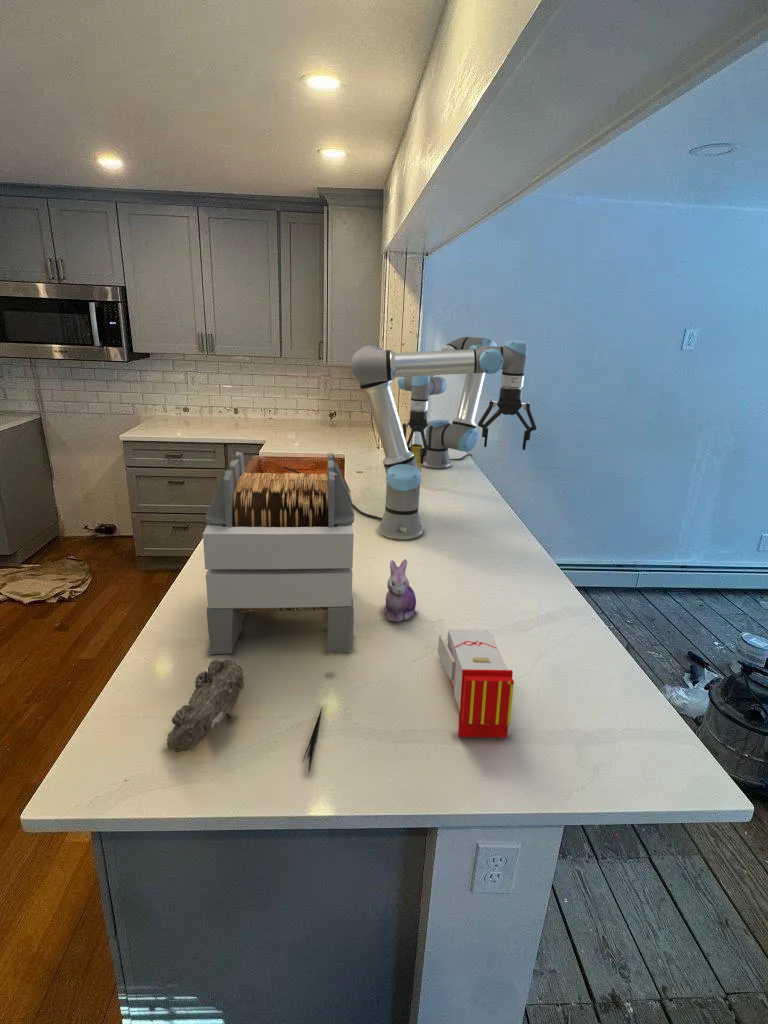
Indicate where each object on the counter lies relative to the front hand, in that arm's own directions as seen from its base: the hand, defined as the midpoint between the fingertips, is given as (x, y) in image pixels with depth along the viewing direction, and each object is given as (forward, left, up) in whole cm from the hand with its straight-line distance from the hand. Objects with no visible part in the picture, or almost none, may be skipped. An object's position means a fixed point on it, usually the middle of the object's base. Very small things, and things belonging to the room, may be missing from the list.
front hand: (504, 447), depth 203 cm
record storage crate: (+11, -98, -29) cm, 103 cm away
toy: (+60, -83, -29) cm, 107 cm away
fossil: (+35, -128, -29) cm, 136 cm away
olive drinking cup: (-54, +9, -26) cm, 60 cm away
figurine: (+28, -74, -29) cm, 84 cm away
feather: (+48, -113, -29) cm, 126 cm away
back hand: (-54, +9, -19) cm, 58 cm away
